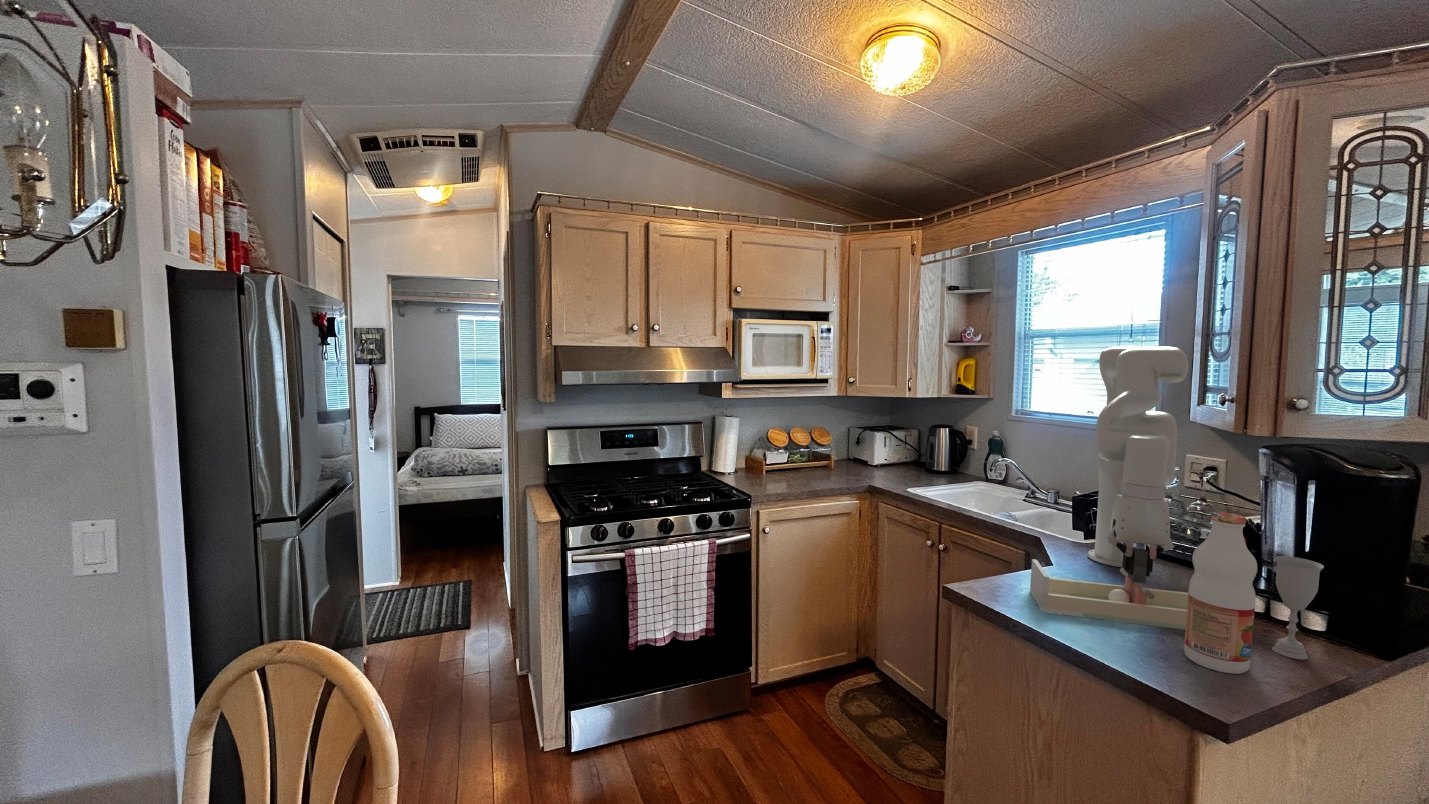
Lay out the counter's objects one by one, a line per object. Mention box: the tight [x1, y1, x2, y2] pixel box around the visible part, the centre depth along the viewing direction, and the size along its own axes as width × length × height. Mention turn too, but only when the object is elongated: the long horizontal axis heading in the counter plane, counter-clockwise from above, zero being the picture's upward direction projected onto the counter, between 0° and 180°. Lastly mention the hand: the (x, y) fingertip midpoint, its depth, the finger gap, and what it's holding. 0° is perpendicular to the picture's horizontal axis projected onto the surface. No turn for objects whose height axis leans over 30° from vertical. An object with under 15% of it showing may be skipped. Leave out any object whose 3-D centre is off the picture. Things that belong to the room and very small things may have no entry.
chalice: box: [1271, 555, 1325, 660], centre depth 114 cm, size 7×7×18 cm
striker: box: [1119, 546, 1155, 605], centre depth 131 cm, size 16×2×13 cm, turn 163°
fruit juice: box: [1183, 511, 1258, 675], centre depth 110 cm, size 9×9×28 cm
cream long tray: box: [1029, 558, 1188, 631], centre depth 133 cm, size 12×32×8 cm, turn 73°
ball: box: [1108, 589, 1130, 603], centre depth 132 cm, size 4×4×4 cm
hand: (1136, 572), depth 131 cm, fingers closed on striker, 2 cm apart
